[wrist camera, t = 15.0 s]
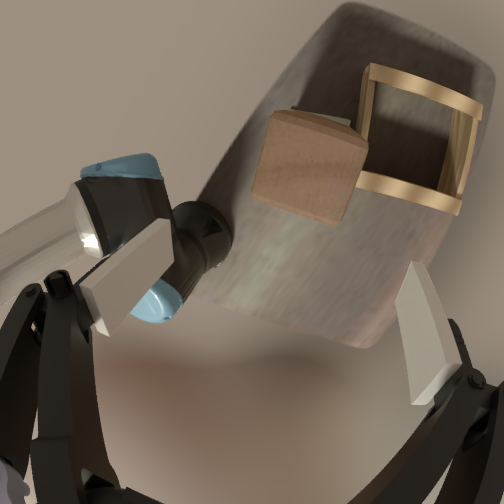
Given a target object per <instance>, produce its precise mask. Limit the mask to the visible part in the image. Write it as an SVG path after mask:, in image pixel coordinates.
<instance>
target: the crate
mask: <svg viewBox="0 0 504 504" xmlns="http://www.w3.org/2000/svg"><path fill="white" fill-rule="evenodd" d="M375 81H376V82H379V83H383V84H387V85H390V86H394V87H397V88H400V89H403V90H407V91H410V92H413V93H416V94H419V95H421V96H424V97H427V98H430V99H432V100H435V101H437V102H440V103H442V104H445V105H447V106H450V107H452V108H453V115H452V122H451V128H450V134H449V139H448V144H447V149H446V154H445V158H444V163H443V167H442V171H441V175H440V179H439V183H438V186H437V190H433V189H430V188H426V187H423V186H420V185H417V184H414V183H410V182H407V181H403V180H400V179H396V178H393V177H389V176H385V175H381V174H378V173H374V172H370V171H366V170H361V173H360V175H359V178H358V181H357V183H356V186H355V187H358V188H362V189H367V190H371V191H375V192H379V193H383V194H387V195H390V196H394V197H398V198H401V199H405V200H409V201H412V202H416V203H419V204H422V205H426V206H429V207H432V208H436V209H439V210H442V211H445V212H448V213H451V214H454V215H458V213H459V210H460V207H461V204H462V200H461V196H462V192H463V189H464V185H465V182H466V178H467V174H468V170H469V166H470V162H471V158H472V153H473V148H474V143H475V138H476V132H477V126H478V120H481V116H482V108H483V105H482V104H480V103H478V102H476V101H474V100H472V99H470V98H468V97H466V96H464V95H462V94H460V93H458V92H455V91H453V90H451V89H449V88H446V87H444V86H441V85H439V84H436V83H434V82H431V81H429V80H426V79H423V78H421V77H418V76H415V75H412V74H409V73H406V72H403V71H400V70H396V69H393V68H390V67H386V66H383V65H379V64H375V63H370V64H369V65H368V66H367V67H366V68H365V69H364V70H363V75H362V84H361V92H360V100H359V108H358V115H357V122H356V128H355V131H356V132H357V133H358V134H360V135H361V136H362V137H363V138H364V139H365V140H367V137H368V132H369V125H370V119H371V112H372V105H373V97H374V89H375Z"/></svg>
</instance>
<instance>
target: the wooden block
mask: <svg viewBox="0 0 504 504" xmlns="http://www.w3.org/2000/svg"><path fill="white" fill-rule="evenodd" d="M368 150H369V147H368V141H367V140H365V139H364V138H363V137H362V136H361V135H360V134H358V133H357V132H356V131H354V130H353V129H352V128H350V127H349V126H347V125H344V124H341V123H338V122H336V121H333V120H330V119H327V118H324V117H321V116H318V115H315V114H311V113H308V112H305V111H301V110H279V111H274V113H273V114H272V115H271V116H270V119H269V123H268V127H267V131H266V135H265V139H264V143H263V146H262V150H261V154H260V158H259V162H258V166H257V170H256V174H255V178H254V182H253V186H252V195H253V198H254V199H256V200H257V201H260V202H263V203H266V204H269V205H272V206H275V207H278V208H281V209H284V210H287V211H290V212H293V213H296V214H299V215H302V216H305V217H308V218H311V219H313V220H316V221H319V222H322V223H325V224H327V225H330V226H337V225H338V224H339V223H340V222H341V221H342V219H343V216H344V214H345V211H346V209H347V206H348V204H349V201H350V199H351V196H352V194H353V191H354V188H355V186H356V183H357V181H358V178H359V175H360V173H361V170H362V167H363V164H364V162H365V159H366V156H367V153H368Z"/></svg>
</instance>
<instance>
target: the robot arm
mask: <svg viewBox="0 0 504 504" xmlns="http://www.w3.org/2000/svg"><path fill="white" fill-rule="evenodd" d="M80 177H81V178H82V179H81V180H79V181H77V182H74V183H72V184H71V186H70V188H69V190H68V192H67V195H66V196H65V198H64V199H63V200H61V201H59V202H57V203H55V204H53V205H51V206H49V207H47V208H45V209H43V210H41V211H40V212H38V213H36V214H34V215H32V216H30V217H29V218H27V219H25V220H23V221H22V222H20V223H19V224H17V225H15V226H13V227H12V228H10V229H8V230H7V231H5V232H4V233H2V234H0V307H1V306H3V305H4V304H6V303H7V302H9V301H10V300H12V299H13V298H14V297H16V296H18V295H19V296H18V298H17V299H16V301H15V303H14V304H13V306H12V308H11V310H10V312H9V314H8V315H7V317H6V319H5V321H4V323H3V325H2V327H1V329H0V504H26V503H25V500H24V496H28V495H29V494H30V488H29V486H28V485H27V484H26V483H25V482H23V480H24V477H25V474H26V471H27V467H28V462H29V455H30V458H31V466H32V474H33V481H34V487H35V493H36V497H37V502H38V503H37V504H164V503H161V502H159V501H157V500H154V499H152V498H150V497H148V496H145V495H143V494H141V493H139V492H137V491H134V490H132V489H130V488H128V487H126V489H122V488H121V487H120V484H119V480H118V478H117V475H116V473H115V471H114V469H113V468H112V466H111V465H110V463H109V460H108V457H107V452H106V448H105V444H104V438H103V434H102V428H101V422H100V417H99V410H98V403H97V395H96V386H95V376H94V365H93V347H92V331H91V328H90V326H91V325H92V324H93V323H94V324H95V326H96V328H97V330H98V332H100V333H102V334H105V335H107V336H109V337H110V336H111V335H112V334H113V332H114V331H115V330H116V328H117V327H118V326H119V325H120V324H121V323H122V321H123V320H124V319H125V318H126V316H127V315H128V314H129V313H130V314H132V315H134V316H135V317H137V318H139V319H141V320H144V321H147V322H151V323H162V322H166V321H168V320H169V319H171V318H172V317H173V315H174V314H175V313H176V312H177V311H178V310H179V309H180V308H181V307H182V306H183V303H184V302H185V300H186V299H187V298H188V296H189V295H190V293H191V292H192V290H193V289H194V287H195V286H196V284H197V283H198V281H199V280H200V278H201V277H202V275H203V274H204V273H206V272H207V271H209V270H212V269H214V268H216V267H217V266H219V265H220V264H221V263H222V262H223V261H224V260H225V258H226V257H227V255H228V254H229V252H230V249H231V245H232V236H231V231H230V228H229V226H228V224H227V222H226V220H225V219H224V218H223V216H222V215H221V214H220V213H219V212H218V211H217V210H215V209H214V208H213V207H211V206H209V205H207V204H205V203H202V202H197V201H188V202H184V203H181V204H179V205H178V206H176V207H175V208H174V209H171V206H170V202H169V199H168V195H167V191H166V188H165V184H164V178H163V177H162V175H161V172H160V170H159V166H158V163H157V160H156V158H155V157H154V156H153V155H151V154H148V153H141V154H135V155H129V156H125V157H120V158H116V159H112V160H108V161H105V162H102V163H97V164H94V165H90V166H87V167H84V168H82V169H81V174H80ZM108 254H110V256H109V257H107V258H105V259H103V260H101V261H100V262H99V263H98V264H96V265H95V267H93V268H92V269H91V270H90V271H88V272H87V273H86V274H85V275H84V276H83V277H82V278H81V279H79V280H78V281H77V282H76V283H75V284H74V285H73V284H72V281H71V279H70V276H69V273H68V272H67V271H66V270H60V269H61V268H63V267H65V266H66V265H68V264H70V263H72V262H73V261H75V260H77V259H79V258H80V257H82V256H84V255H92V256H95V257H97V258H103V257H104V256H106V255H108ZM43 279H44V284H45V286H46V288H47V291H48V293H47V292H43V290H42V287H41V285H40V284H39V283H38V282H40V281H41V280H43ZM395 307H396V311H397V316H398V320H399V325H400V330H401V335H402V341H403V346H404V352H405V358H406V365H407V371H408V379H409V388H410V397H411V404H412V405H415V404H416V405H426V404H427V403H428V402H429V401H430V400H431V399H432V398H433V397H434V402H435V405H434V406H433V407H432V408H431V409H430V410H429V411H428V412H427V413H425V415H423V416H422V418H424V417H425V418H424V419H423V420H422V422H421V423H420V425H419V426H418V427H417V429H416V430H415V431H414V433H413V434H412V435H411V437H410V438H409V439H408V440H407V442H406V443H405V444H404V445H403V447H402V448H401V449H400V450H399V452H398V453H397V454H396V455H395V456H394V457H393V458H392V460H391V461H390V462H389V463H388V464H387V465H386V466H385V467H384V469H383V470H382V471H381V472H380V473H379V474H378V475H377V476H376V477H375V478H374V479H373V480H372V481H371V482H370V483H369V484H368V485H367V486H366V487H365V488H364V489H363V490H362V491H361V492H360V493H359V494H357V495H356V496H355V497H354V498H353V499H352V500H351V501H350V502H349V503H348V504H422V502H423V501H424V500H425V499H426V497H427V496H428V495H429V493H430V492H431V490H432V489H433V488H434V486H435V485H436V483H437V482H438V481H439V479H440V478H441V476H442V475H443V473H444V472H445V470H446V468H447V467H448V465H449V464H450V462H451V460H452V459H453V460H452V463H451V466H450V468H449V471H448V473H447V476H446V478H445V481H444V483H443V486H442V488H441V491H440V492H439V495H438V497H437V499H436V501H435V503H434V504H500V501H501V498H502V495H503V492H504V381H503V382H502V383H501V384H500V385H499V386H498V387H495V386H492V385H489V384H487V383H486V379H485V377H484V375H483V374H482V373H481V372H480V371H479V370H477V369H474V368H473V367H472V364H471V360H470V358H469V354H468V351H467V349H466V345H464V340H463V338H462V334H461V332H460V329H459V327H458V325H457V324H456V323H455V322H454V320H453V319H447V317H446V314H445V312H444V309H443V307H442V304H441V301H440V299H439V297H438V294H437V292H436V290H435V287H434V285H433V283H432V281H431V278H430V276H429V274H428V272H427V270H426V268H425V266H424V263H420V262H414V261H411V263H410V265H409V268H408V271H407V273H406V276H405V278H404V281H403V283H402V286H401V288H400V291H399V293H398V295H397V298H396V300H395ZM32 323H33V324H34V325H35V327H36V328H35V330H34V331H33V330H32V328H31V326H32ZM37 407H38V438H36V439H34V440H32V433H33V428H34V422H35V417H36V412H37Z"/></svg>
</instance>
